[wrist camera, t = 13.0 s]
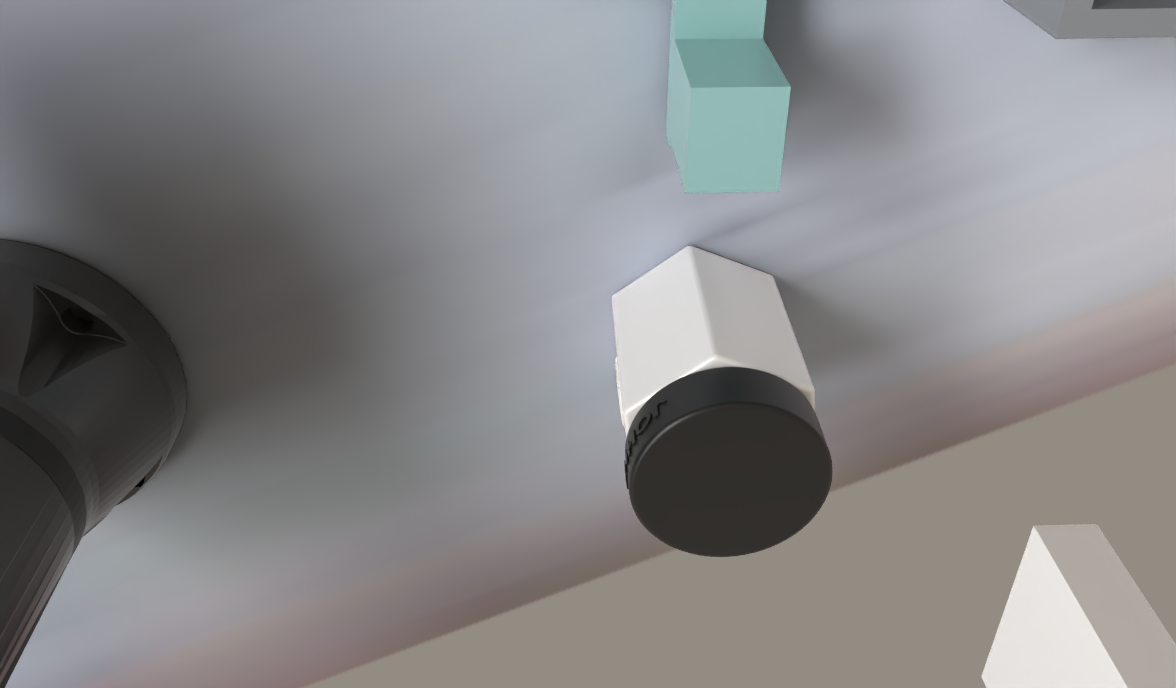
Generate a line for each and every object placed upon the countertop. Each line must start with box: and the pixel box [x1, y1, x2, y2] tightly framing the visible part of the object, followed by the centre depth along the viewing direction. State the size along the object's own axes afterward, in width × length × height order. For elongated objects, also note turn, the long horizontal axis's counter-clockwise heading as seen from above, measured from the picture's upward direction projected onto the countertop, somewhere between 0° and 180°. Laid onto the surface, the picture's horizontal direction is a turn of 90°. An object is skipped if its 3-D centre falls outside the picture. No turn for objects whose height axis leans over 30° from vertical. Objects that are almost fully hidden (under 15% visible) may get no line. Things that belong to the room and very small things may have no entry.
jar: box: [612, 246, 832, 557], centre depth 45 cm, size 9×8×12 cm
